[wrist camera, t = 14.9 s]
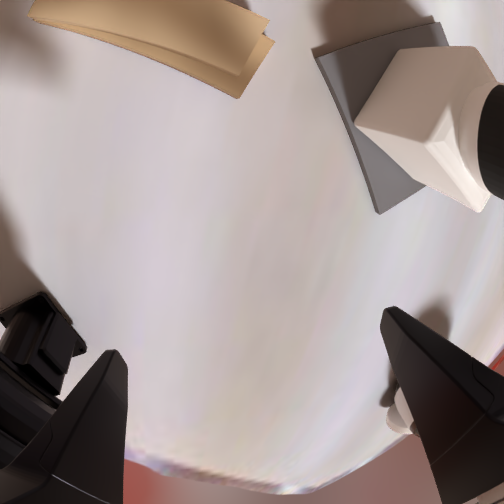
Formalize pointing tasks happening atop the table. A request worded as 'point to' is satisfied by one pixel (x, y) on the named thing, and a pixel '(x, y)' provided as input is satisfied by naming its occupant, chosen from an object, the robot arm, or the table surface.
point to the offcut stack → (172, 34)
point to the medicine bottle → (441, 121)
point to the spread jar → (401, 415)
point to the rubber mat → (357, 93)
